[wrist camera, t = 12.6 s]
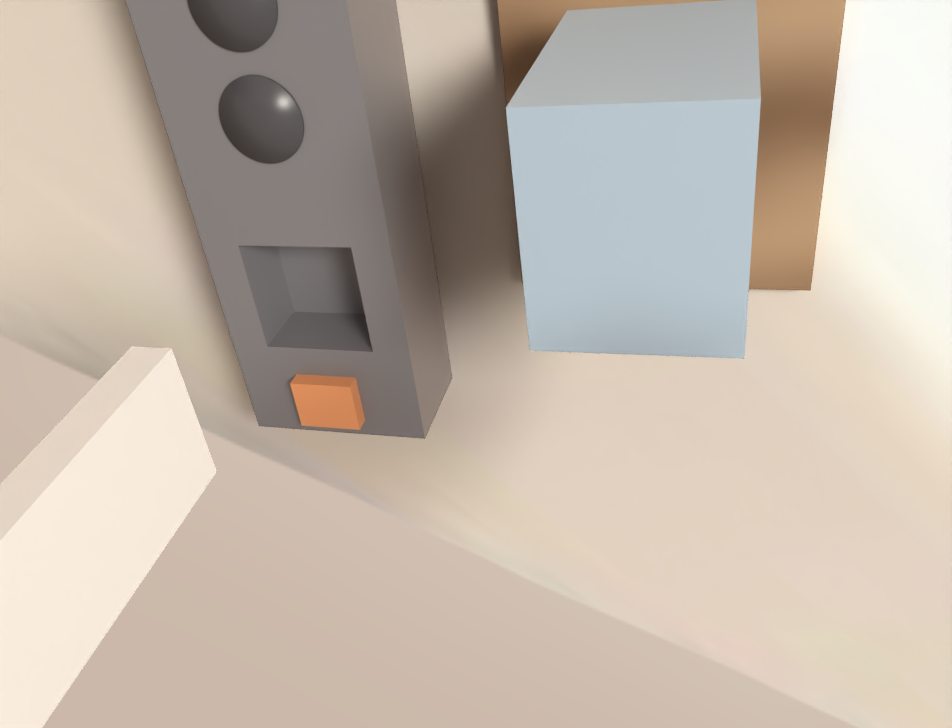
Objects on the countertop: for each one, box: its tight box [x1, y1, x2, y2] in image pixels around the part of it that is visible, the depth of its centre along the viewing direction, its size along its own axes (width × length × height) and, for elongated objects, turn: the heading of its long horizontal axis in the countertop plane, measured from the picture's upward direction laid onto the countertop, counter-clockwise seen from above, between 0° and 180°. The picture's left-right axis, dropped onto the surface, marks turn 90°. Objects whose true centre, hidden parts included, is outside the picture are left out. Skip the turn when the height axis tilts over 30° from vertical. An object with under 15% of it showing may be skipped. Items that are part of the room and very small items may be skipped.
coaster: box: [497, 0, 846, 290], centre depth 28 cm, size 14×10×1 cm
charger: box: [506, 0, 761, 359], centre depth 23 cm, size 6×5×10 cm
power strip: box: [126, 0, 452, 439], centre depth 28 cm, size 29×7×5 cm, turn 6°
